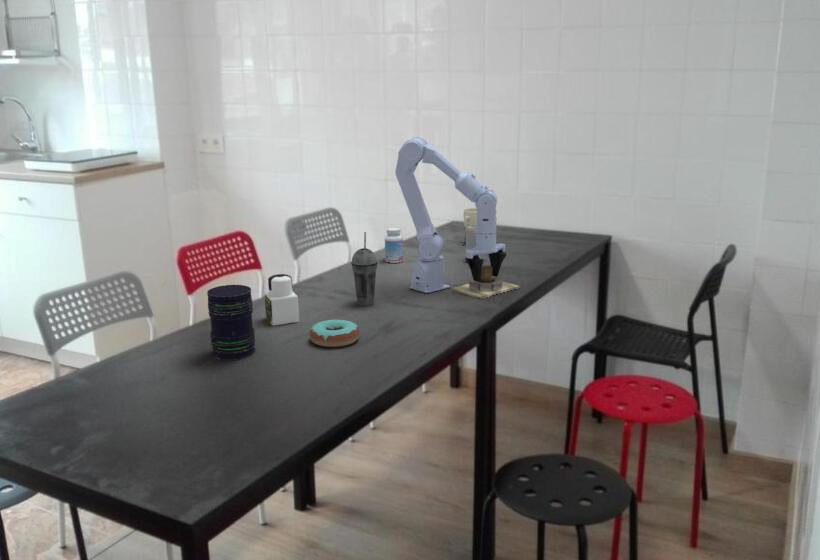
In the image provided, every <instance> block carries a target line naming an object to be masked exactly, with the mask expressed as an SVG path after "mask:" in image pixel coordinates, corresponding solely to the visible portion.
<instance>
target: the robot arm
mask: <svg viewBox="0 0 820 560" xmlns="http://www.w3.org/2000/svg"><path fill="white" fill-rule="evenodd" d="M397 154H398V155H397V156H398V157H397V161H396V162H397V163H396V167H395V170H394V172H395V176H396V180H397V181H398V185H399V188H400V190H401V192H402V193H401V194H402V195H403V198H404V200H405V203H406V207H407V209H408V211H409V214H410V217H411V219H412V222H413V225H414V227H415V230H416V240H417V243H418V248H417V250H418V254H419V256H418V260H417V261H415V262H413V263H412V265H411V266H410V280H411V281H410V284H411V285H410V286H409V289H412V290H415V291H418V292H421V293H425V294H430V293H433V292H437V291H441V290H446V289H449V288H450V287H451V286H450V285H449V284H445V283H444V282H445V279H444V276H445V275H444V274H445V270H444V269H445V267H444V266H445V264H444V263H445V262H444V261H445V259H444V255H443V254H442V251H443V249H444V247H445V241H444V239H443V237H442V236H441V235H440V234H439V233H438V231H437V229H436V227H435V225H434V224H433V222H432V219H431V217H430V214H429V212H428V209H427V206H426V203H425V201H424V198H423V195H422V193H421V190H420V187H419V184H418V181H417V179H416V177H415V174H414V173H415V171H416V169H417V167H418V166H419V163H420V162H421V163H423V164H431V165H433V166H435V167H436V168H437V169H439V171H441V172H443V173H444V174H445V175H446V176H447V177H449V178H450V179H451V180H452V181H454V187H455V189H456V190H457V191H458V192H460V193H461V194H462V195H463V196H464V197H465V198H466V199H468V200H469V201H470V202H472V203H474V205H475V208H477V218H476V247H475V248H473V249H471V250H469V251H466V250H465V262H466V261H467V262H466V263H467V265H468V267H469V269H470V272H471V275H472V277H471V278H473V280H474V281H477V282H479V281H480V278H481V268H482V266H483V263H484V261H485V260H484V259H483V258H482V259H480V257H479V256H481V255H482V256H485V255H488V258H489V263H490V265H489V266H492V277H497V278H499V274H500V270H501V266H502V264H503V261H504V260H505V258H506V257H507V252H506V244H505V243H501V242H500V243H497V216H496V215H497V208H496V207H497V203H498V197H497V196H498V195H496V193H495V191H494V190H493V189H489V186H488V185H484V184H483V183H481V181H479V180H478V179H477V175H476V174H474V173H472V174H471V173H470V172H462V171H461V170H459V168H457V166H455V164H453V162H451V161H450V160H449V159H448V158H447V157H446V156H445V155H444V154H443V153H441V151H440V150H438V149H437V148H436V147H434V145H432V143H431V144H430V143H429V142H427V140H425V139H424V138H422V137H420V136H416V137H415V136H414V137H413V138H411V139H409V140H406V141H405V142H404V143H403V144H402V146H401V148H399V150H398V153H397Z"/></svg>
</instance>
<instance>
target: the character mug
mask: <svg viewBox="0 0 820 560" xmlns="http://www.w3.org/2000/svg"><path fill="white" fill-rule="evenodd" d="M476 218H477V208H476V207H474V208H473V207H472V208H469V207H468V208H464V209H463V224H462V225H463V226H464V227H465V228H466V227H467V226H470V225H476ZM464 244H465V245H466V233H465V236H464Z"/></svg>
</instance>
